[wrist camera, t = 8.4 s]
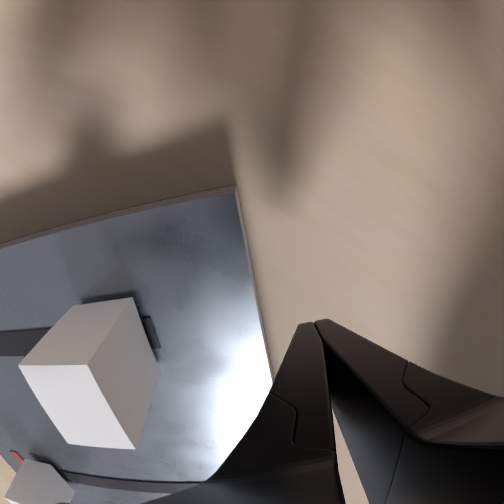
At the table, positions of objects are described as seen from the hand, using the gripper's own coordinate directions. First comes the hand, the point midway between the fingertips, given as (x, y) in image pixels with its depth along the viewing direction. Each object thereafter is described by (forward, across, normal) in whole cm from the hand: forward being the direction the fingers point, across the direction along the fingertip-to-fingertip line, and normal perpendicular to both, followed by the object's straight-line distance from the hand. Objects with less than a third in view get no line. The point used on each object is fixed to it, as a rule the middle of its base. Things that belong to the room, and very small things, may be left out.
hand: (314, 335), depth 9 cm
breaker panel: (+4, +12, +10) cm, 16 cm away
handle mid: (+1, +17, +10) cm, 19 cm away
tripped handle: (+1, +6, 0) cm, 7 cm away
